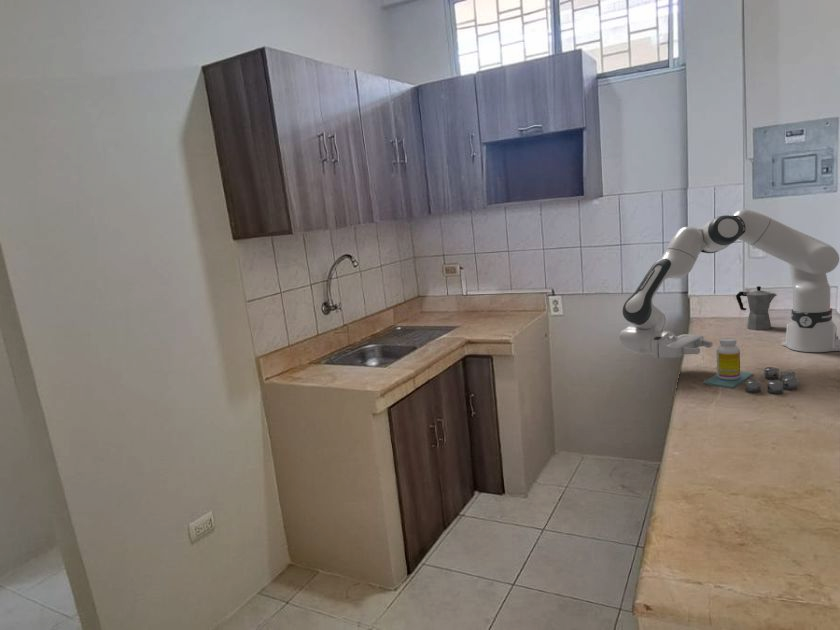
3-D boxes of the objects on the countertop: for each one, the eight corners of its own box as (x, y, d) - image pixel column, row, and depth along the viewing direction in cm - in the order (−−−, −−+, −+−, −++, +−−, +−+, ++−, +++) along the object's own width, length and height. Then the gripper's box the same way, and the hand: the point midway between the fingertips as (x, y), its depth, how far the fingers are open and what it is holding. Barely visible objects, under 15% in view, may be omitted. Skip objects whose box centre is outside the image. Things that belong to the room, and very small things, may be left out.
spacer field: (767, 375, 183) (767, 366, 182) (808, 380, 174) (808, 371, 174) (743, 391, 171) (743, 382, 171) (785, 398, 162) (786, 388, 162)
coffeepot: (779, 326, 239) (779, 284, 236) (773, 331, 233) (773, 288, 229) (739, 324, 250) (739, 284, 247) (732, 328, 244) (732, 287, 240)
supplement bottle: (743, 380, 179) (742, 341, 177) (720, 381, 181) (719, 342, 179) (736, 373, 186) (735, 336, 183) (714, 374, 187) (713, 337, 185)
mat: (724, 370, 192) (724, 369, 192) (753, 374, 185) (753, 373, 185) (703, 383, 182) (703, 382, 182) (733, 388, 175) (733, 386, 175)
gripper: (679, 345, 204) (719, 350, 193) (650, 359, 191) (691, 364, 181) (678, 328, 203) (718, 332, 192) (650, 341, 190) (691, 345, 179)
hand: (705, 348), depth 186 cm, fingers open, 8 cm apart
